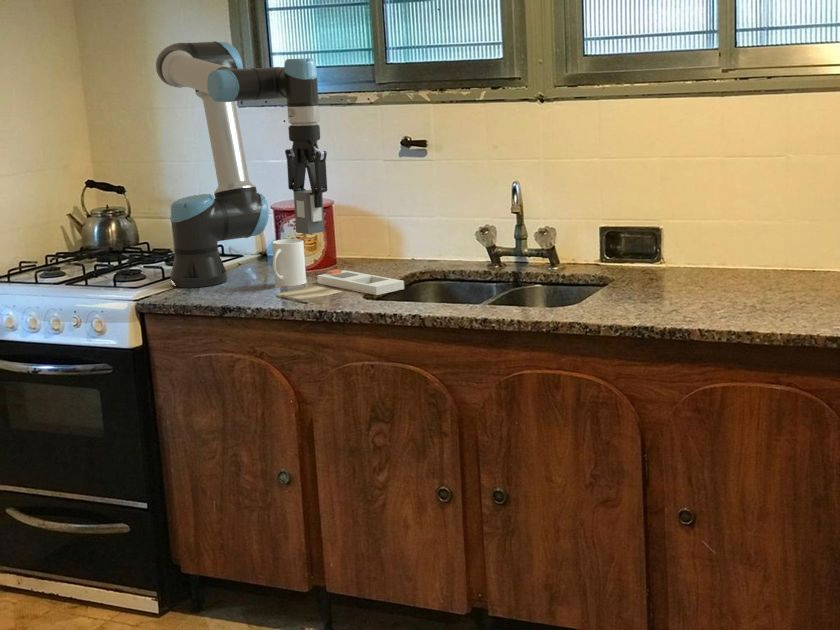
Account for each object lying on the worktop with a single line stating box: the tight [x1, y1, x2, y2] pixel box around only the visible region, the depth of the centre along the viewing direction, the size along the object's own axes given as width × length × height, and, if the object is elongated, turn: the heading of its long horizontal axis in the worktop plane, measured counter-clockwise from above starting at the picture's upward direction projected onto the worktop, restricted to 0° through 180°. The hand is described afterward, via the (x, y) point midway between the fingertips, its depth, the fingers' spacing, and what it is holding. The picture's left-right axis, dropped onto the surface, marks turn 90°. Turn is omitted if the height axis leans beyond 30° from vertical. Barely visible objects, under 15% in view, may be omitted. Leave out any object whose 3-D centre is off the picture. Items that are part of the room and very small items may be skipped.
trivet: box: [275, 285, 344, 305], centre depth 258 cm, size 12×12×1 cm
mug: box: [272, 238, 308, 289], centre depth 269 cm, size 12×8×12 cm
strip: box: [315, 268, 405, 296], centre depth 266 cm, size 30×9×4 cm, turn 42°
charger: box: [293, 189, 325, 235], centre depth 254 cm, size 5×5×10 cm
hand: (309, 219), depth 255 cm, fingers closed on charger, 5 cm apart
